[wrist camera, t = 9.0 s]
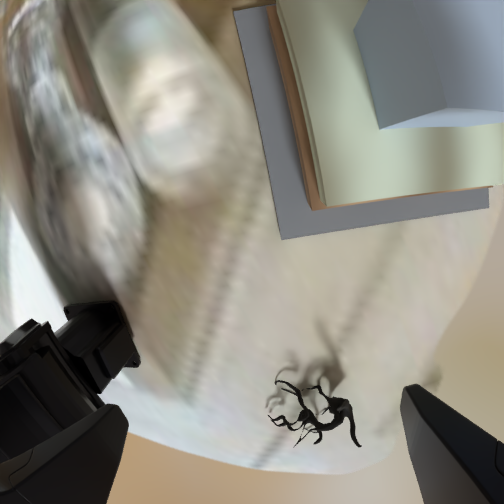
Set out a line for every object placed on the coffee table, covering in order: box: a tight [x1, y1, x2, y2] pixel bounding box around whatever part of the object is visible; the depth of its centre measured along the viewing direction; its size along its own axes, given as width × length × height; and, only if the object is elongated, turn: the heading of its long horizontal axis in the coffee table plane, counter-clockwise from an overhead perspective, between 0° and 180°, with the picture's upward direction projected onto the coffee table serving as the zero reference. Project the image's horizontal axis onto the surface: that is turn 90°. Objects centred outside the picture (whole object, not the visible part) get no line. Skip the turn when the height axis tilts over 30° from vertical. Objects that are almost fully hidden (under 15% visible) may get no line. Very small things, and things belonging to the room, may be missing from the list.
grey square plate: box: [233, 4, 489, 240], centre depth 16 cm, size 16×16×1 cm
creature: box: [268, 380, 362, 447], centre depth 21 cm, size 8×5×8 cm
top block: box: [353, 0, 504, 130], centre depth 7 cm, size 5×5×6 cm
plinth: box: [266, 0, 504, 211], centre depth 13 cm, size 12×12×6 cm
